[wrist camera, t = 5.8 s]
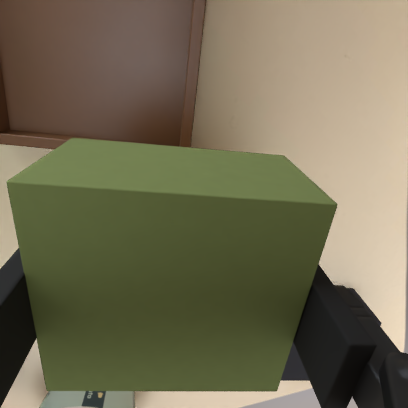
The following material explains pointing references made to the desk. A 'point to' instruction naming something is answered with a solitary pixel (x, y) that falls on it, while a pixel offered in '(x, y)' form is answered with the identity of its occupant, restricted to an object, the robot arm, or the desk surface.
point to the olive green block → (166, 264)
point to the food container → (89, 399)
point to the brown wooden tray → (99, 71)
